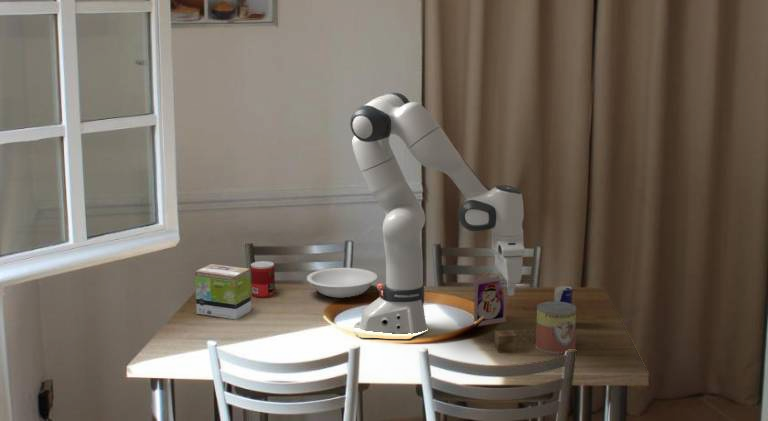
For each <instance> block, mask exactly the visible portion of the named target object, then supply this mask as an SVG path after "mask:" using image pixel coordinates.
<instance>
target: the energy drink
mask: <svg viewBox="0 0 768 421" xmlns="http://www.w3.org/2000/svg"><path fill="white" fill-rule="evenodd" d="M553 301H559V302H566V303H570V304H573V287H572V286H569V285H557V286H555V288H554V300H553Z"/></svg>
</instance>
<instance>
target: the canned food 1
mask: <svg viewBox="0 0 768 421" xmlns="http://www.w3.org/2000/svg"><path fill="white" fill-rule="evenodd" d="M275 277H276V276H275V263H274V262H272V261H266V260H262V261H261V260H260V261H254V262H252V263H251V264H250V288H251V295H252V297H254V298H256V299H257V298H258V299H268V298H272V297H274V296H275V293H276V280H275V279H276V278H275Z"/></svg>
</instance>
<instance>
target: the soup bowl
mask: <svg viewBox="0 0 768 421" xmlns="http://www.w3.org/2000/svg"><path fill="white" fill-rule="evenodd" d="M377 280H378V274H377V273H375V272H373V271H371V270H368V269H363V268H358V267H332V268H325V269H319V270H315V271H313V272H311V273H309V274H307V276H306V281H307V282H308V283H309V284H312V286H313V287H314V289H315V290H316V291H318V292H319V293H320V294H322V295H324V296H326V297H329V298H330V297H331V298H336V299H346V298H345V297H348V298H351V297H350V296H354V297H356V296H355V295H357V296H360V295H362V294H364V293H366V291H367V290H368V289H370V287H371V286H372V284H373V283H374V282H376V281H377ZM359 294H360V295H359Z"/></svg>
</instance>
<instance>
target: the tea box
mask: <svg viewBox="0 0 768 421" xmlns="http://www.w3.org/2000/svg"><path fill="white" fill-rule="evenodd" d="M194 277H195V278H194V280H195V282H194V284H195V304H196V305H195V306H196V307H195V308H196V314H197V315H204V316H211V317H218V318H224V319H230V320H233V321H234V320H238V319H240V318H242V317H243V316H245V315H247V314H248V313H250V312H251V311H252V296H251V295H252V289H251V268H247V267H246V268H245V267H238V266H231V265H222V264H213V263H210V264H208V265H206V266H203V267H202V268H200V269H198V270H197V269H196V270H195V271H194Z"/></svg>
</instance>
